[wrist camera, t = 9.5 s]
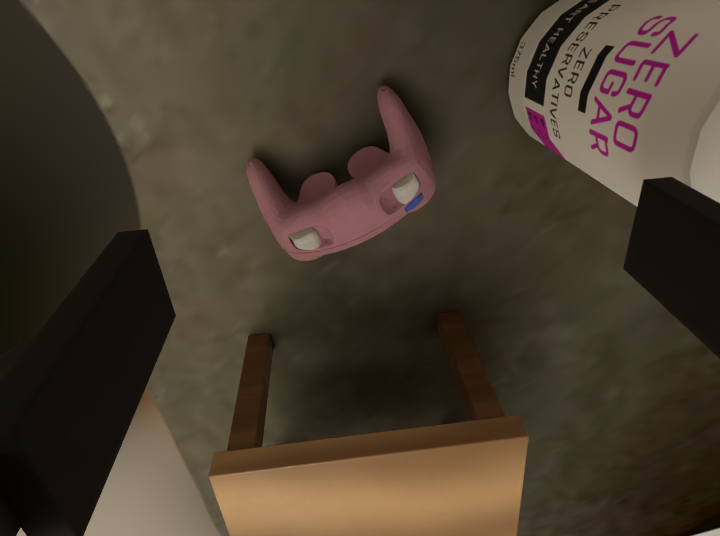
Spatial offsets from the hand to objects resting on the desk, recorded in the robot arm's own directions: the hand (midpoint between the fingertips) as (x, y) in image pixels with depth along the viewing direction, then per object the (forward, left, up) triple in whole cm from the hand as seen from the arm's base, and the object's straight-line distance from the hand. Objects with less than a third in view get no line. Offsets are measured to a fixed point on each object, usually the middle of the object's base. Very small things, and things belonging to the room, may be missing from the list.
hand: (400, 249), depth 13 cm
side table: (+21, -1, -17) cm, 27 cm away
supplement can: (-1, +13, -17) cm, 21 cm away
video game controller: (+3, -1, -17) cm, 17 cm away
